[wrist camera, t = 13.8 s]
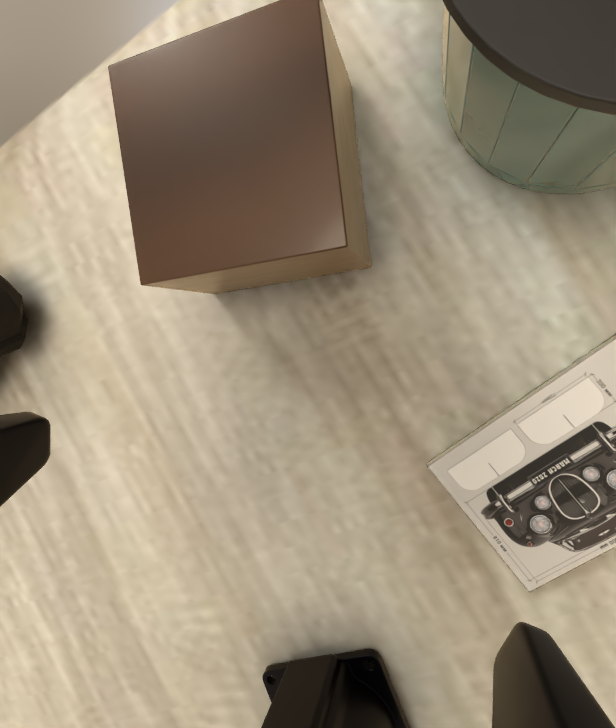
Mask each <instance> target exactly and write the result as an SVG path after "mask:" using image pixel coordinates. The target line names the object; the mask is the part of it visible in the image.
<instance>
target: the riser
mask: <svg viewBox="0 0 616 728" xmlns="http://www.w3.org/2000/svg"><path fill="white" fill-rule="evenodd" d="M108 69H109V76H110V82H111V89H112V96H113V102H114V109H115V116H116V122H117V129H118V136H119V142H120V149H121V156H122V162H123V169H124V176H125V182H126V189H127V196H128V202H129V209H130V216H131V222H132V229H133V235H134V242H135V249H136V255H137V262H138V269H139V275H140V282H141V285H144V286H152V287H161V288H169V289H177V290H185V291H194V292H202V293H210V294H217V293H223V292H229V291H234V290H240V289H246V288H252V287H258V286H264V285H270V284H276V283H282V282H288V281H294V280H300V279H306V278H312V277H318V276H324V275H330V274H336V273H342V272H347V271H353V270H359V269H365V268H370V267H371V259H370V250H369V241H368V232H367V224H366V215H365V206H364V197H363V188H362V179H361V171H360V162H359V153H358V144H357V135H356V126H355V118H354V109H353V100H352V91H351V83H350V80H349V77H348V74H347V71H346V68H345V65H344V62H343V59H342V57H341V54H340V51H339V48H338V45H337V42H336V39H335V36H334V33H333V30H332V27H331V25H330V22H329V19H328V16H327V13H326V10H325V7H324V4H323V1H322V0H279V1H277V2H274V3H272V4H269V5H266V6H264V7H261V8H258V9H256V10H253V11H251V12H248V13H245V14H243V15H240V16H238V17H235V18H232V19H230V20H227V21H224V22H222V23H219V24H217V25H214V26H211V27H209V28H206V29H204V30H201V31H198V32H196V33H193V34H190V35H188V36H185V37H183V38H180V39H177V40H175V41H172V42H170V43H167V44H164V45H162V46H159V47H156V48H154V49H151V50H149V51H146V52H143V53H141V54H138V55H136V56H133V57H130V58H128V59H125V60H122V61H120V62H117V63H115V64H112V65H109V66H108Z"/></svg>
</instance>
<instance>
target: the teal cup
mask: <svg viewBox="0 0 616 728" xmlns="http://www.w3.org/2000/svg"><path fill="white" fill-rule="evenodd" d="M442 62H443V94H444V99H445V105H446V110H447V113H448V116H449V119H450V122H451V125H452V127H453V129H454V131H455V133H456V135H457V137H458V139H459V140H460V142H461V143H462V145H463V146H464V147H465V149H466V150H467V152H468V153H469V154H470V155H471V156H472V157H473V158H474V159H475V160H476V161H477V162H478V163H479V164H480V165H481V166H483V167H484V168H485V169H486V170H488V171H489V172H490V173H492V174H493V175H495V176H497V177H499V178H501V179H502V180H504V181H506V182H508V183H511V184H514V185H516V186H519V187H521V188H525V189H529V190H533V191H538V192H544V193H554V194H579V193H586V192H593V191H599V190H603V189H607V188H611V187H615V186H616V115H610V114H606V113H601V112H596V111H591V110H587V109H582V108H577V107H574V106H571V105H568V104H565V103H563V102H560V101H557V100H555V99H552V98H549V97H546V96H544V95H541V94H539V93H537V92H536V91H534V90H532V89H530V88H528V87H526V86H525V85H523V84H521V83H519V82H517V81H515V80H514V79H512V78H511V77H509V76H508V75H507V74H505V73H504V72H503V71H502V70H500V69H499V68H498V67H496V66H495V65H494V64H492V63H491V62H490V61H489V60H487V59H486V58H485V57H484V56H483V55H482V54H481V52H480V51H479V50H478V49H477V48H476V47H475V46H474V45H473V44H472V43H471V42H470V41H469V40H468V39H467V38H466V37H465V35H464V34H463V32H462V31H461V30H460V28H459V27H458V25H457V24H456V22H455V21H454V19H453V18H452V16H451V15H450V13H449V12H448V10H447V9H446V6H445V4H444V18H443V45H442Z"/></svg>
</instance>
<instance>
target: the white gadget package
mask: <svg viewBox="0 0 616 728" xmlns="http://www.w3.org/2000/svg"><path fill="white" fill-rule="evenodd" d="M427 467H428V468H429V469H430V470H431V472H432V473H433V474H434V475H435V477H436V478H437V479H438V480H439V482H440V483H441V484H442V485H443V487H444V488H445V489H446V490H447V491H448V493H449V494H450V495H451V496H452V498H453V499H454V500H455V501H456V503H457V504H458V505H459V506H460V508H461V509H462V510H463V511H464V512H465V514H466V515H467V516H468V517H469V519H470V520H471V521H472V522H473V524H474V525H475V526H476V527H477V529H478V530H479V531H480V532H481V533H482V535H483V536H484V537H485V538H486V540H487V541H488V542H489V543H490V545H491V546H492V547H493V548H494V550H495V551H496V552H497V553H498V554H499V556H500V557H501V558H502V559H503V561H504V562H505V563H506V564H507V566H508V567H509V568H510V569H511V570H512V572H513V573H514V574H515V575H516V577H517V578H518V579H519V580H520V582H521V583H522V584H523V585H524V587H525V588H526V589H527V590H528V591H529V592H531V591H533V590H535V589H537V588H539V587H541V586H543V585H544V584H546V583H548V582H550V581H552V580H554V579H556V578H558V577H560V576H561V575H563V574H565V573H567V572H569V571H571V570H573V569H575V568H577V567H578V566H580V565H582V564H584V563H586V562H588V561H590V560H592V559H594V558H595V557H597V556H599V555H601V554H603V553H605V552H607V551H609V550H611V549H612V548H614V547H616V335H614V336H613V337H612V338H610V339H609V340H607V341H606V342H604V343H603V344H601V345H600V346H598V347H597V348H595V349H594V350H592V351H591V352H590V353H588V354H587V355H585V356H584V357H582V358H581V359H579V360H578V361H576V362H575V363H573V364H572V365H570V366H569V367H568V368H566V369H565V370H563V371H562V372H560V373H559V374H557V375H556V376H554V377H553V378H551V379H550V380H549V381H547V382H546V383H544V384H543V385H541V386H540V387H538V388H537V389H535V390H534V391H532V392H531V393H529V394H528V395H527V396H525V397H524V398H522V399H521V400H519V401H518V402H516V403H515V404H513V405H512V406H510V407H509V408H507V409H506V410H505V411H503V412H502V413H500V414H499V415H497V416H496V417H494V418H493V419H491V420H490V421H488V422H487V423H485V424H484V425H483V426H481V427H480V428H478V429H477V430H475V431H474V432H472V433H471V434H469V435H468V436H466V437H465V438H463V439H462V440H461V441H459V442H458V443H456V444H455V445H453V446H452V447H450V448H449V449H447V450H446V451H444V452H443V453H441V454H440V455H439V456H437V457H436V458H434V459H433V460H431V461H430V462H428V463H427Z"/></svg>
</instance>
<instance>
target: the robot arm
mask: <svg viewBox="0 0 616 728" xmlns="http://www.w3.org/2000/svg"><path fill="white" fill-rule="evenodd" d="M49 456H50V423H49V421H48V420H47V419H46V418H44V417H42V416H39V415H37V414H35V413H31V412H21V413H13V414H5V415H0V506H1V505H2V504H4V503H5V502H6V501H7V500H8V499H9V498H10V497H11V496H12V495H13V494H14V493H15V492H16V491H17V490H18V489H20V488H21V487H22V486H23V485H24V484H25V483H26V482H27V481H28V480H29V479H30V478H31V477H32V476H33V475H34V474H36V473H37V472H38V471H39V470H40V469H41V468H42V467H43V466H44V465H45V463H46V462H47V460H48V459H49ZM367 660H372V661H373V662H374V663H370V662H368V661H367ZM271 676H273V677H274V678H273V677H271ZM263 682H264V684H265V687H266V690H267V692H268V695H269V697H270V700H271V702H272V703H271V706H270V708H269V710H268V713H267V715H266V718H265V720H264V722H263V725H262V727H261V728H409V725H408V723H407V720H406V718H405V715H404V713H403V710H402V708H401V705H400V703H399V700H398V698H397V695H396V693H395V690H394V688H393V685H392V683H391V680H390V678H389V675H388V673H387V671H386V668H385V666H384V663H383V661H382V658H381V656H380V654H379V653H378V652H377V651H375V650H373V649H363V650H357V651H351V652H345V653H339V654H333V655H332V654H329V655H323V656H317V657H311V658H305V659H299V660H294V661H290V662H286V663H280V664H274V665H270V666H268V667H267V668H266V670H265V672H264V674H263ZM492 728H615V727H614V725H613V724H612V722H611V721H610V720H609V718H608V717H607V715H606V714H605V712H604V711H603V710H602V708H601V707H600V705H599V704H598V702H597V701H596V700H595V698H594V697H593V695H592V694H591V693H590V691H589V690H588V688H587V687H586V685H585V684H584V683H583V681H582V680H581V678H580V677H579V675H578V674H577V673H576V671H575V670H574V668H573V667H572V665H571V664H570V663H569V661H568V660H567V658H566V657H565V656H564V654H563V653H562V651H561V650H560V648H559V647H558V646H557V644H556V643H555V641H554V640H553V638H552V637H551V636H550V635H549V634H548V633H547V632H545V631H543V630H541V629H539V628H536V627H534V626H532V625H529V624H527V623H524V622H519V623H517V624H516V625H515V626H514V628H513V629H512V631H511V633H510V634H509V636H508V637H507V639H506V641H505V642H504V644H503V645H502V647H501V649H500V650H499V652H498V654H497V656H496V659H495V663H494V673H493V717H492Z"/></svg>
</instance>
